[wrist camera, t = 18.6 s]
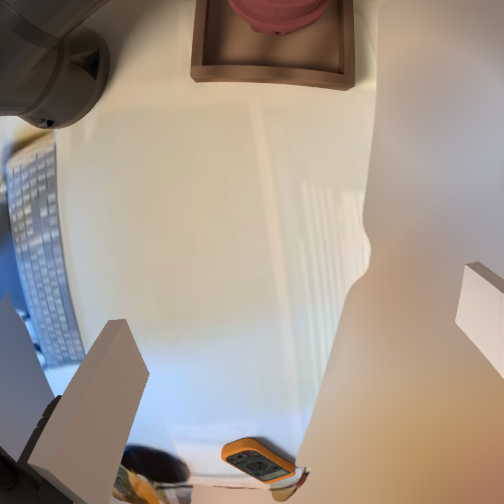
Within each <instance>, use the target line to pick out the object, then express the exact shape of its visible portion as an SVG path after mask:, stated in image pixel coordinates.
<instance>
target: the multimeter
mask: <svg viewBox="0 0 504 504" xmlns="http://www.w3.org/2000/svg"><path fill="white" fill-rule="evenodd" d="M221 458H222V460H223V461H225V462H227V463H228V464H230V465H232V466H234V467H236V468H237V469H239V470H241V471H243V472H245V473H247V474H248V475H250V476H252V477H254V478H256V479H257V480H259V481H261V482H263V483H265V484H270V483H273V482H276V481H280V480H283V479H286V478H289V477H291V476H294V475H295V467H294V465H292V464H291V463H289V462H287V461H285V460H284V459H282V458H280V457H279V456H277V455H276V454H274V453H273V452H271V451H270V450H268V449H267V448H265V447H264V446H263V445H261V444H260V443H259V442H257V441H256V440H254V439H251V438H243V439H240V440H237V441H235V442H232V443H229V444H227V445H225V446H224V447H223V448H222V452H221Z"/></svg>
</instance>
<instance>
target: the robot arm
mask: <svg viewBox="0 0 504 504" xmlns="http://www.w3.org/2000/svg"><path fill="white" fill-rule="evenodd" d="M108 1H110V0H0V116H18V117H20V118H21V119H23V120H25V121H26V122H28V123H30V124H31V125H33V126H35V127H38V128H42V129H60V128H64V127H67V126H70V125H72V124H74V123H75V122H77V121H78V120H80V119H81V118H82V117H83V116H85V115H86V114H87V113H88V112H89V111H90V109H91V108H92V107H93V106H94V104H95V103H96V101H97V100H98V98H99V97H100V95H101V93H102V91H103V89H104V86H105V84H106V81H107V77H108V72H109V52H108V48H107V46H106V44H105V42H104V40H103V39H102V38H101V37H100V36H99V35H98V34H97V33H95V32H94V31H92V30H90V29H89V28H86V27H83V26H79V25H80V24H81V23H82V22H84V21H85V20H86V19H87V18H88V17H90V16H91V15H92V14H93V13H94V12H96V11H97V10H98V9H99V8H101V7H102V6H103V5H105V4H106V3H107V2H108ZM455 322H456V324H457V325H458V326H459V327H460V328H461V329H462V330H463V331H464V333H465V334H466V335H467V336H468V337H469V338H470V339H471V340H472V341H473V342H474V344H475V345H476V346H477V347H478V348H479V349H480V351H481V352H482V353H483V354H484V355H485V357H486V358H487V359H488V360H489V361H490V362H491V364H492V365H493V366H494V367H495V368H496V370H497V371H498V372H499V373H500V375H501V376H502V377H503V378H504V279H502V278H501V277H499V276H498V275H497V274H495V273H494V272H492V271H491V270H490V269H488V268H487V267H485V266H484V265H483V264H481V263H480V262H474V263H470V264H466V265H465V270H464V277H463V284H462V290H461V295H460V301H459V306H458V311H457V316H456V320H455ZM148 377H149V372H148V369H147V367H146V365H145V363H144V361H143V359H142V356H141V354H140V352H139V350H138V347H137V345H136V343H135V340H134V338H133V336H132V333H131V331H130V328H129V326H128V323H127V321H126V319H119V320H109V321H108V322H107V324H106V325H105V327H104V328H103V330H102V331H101V333H100V334H99V336H98V337H97V339H96V341H95V342H94V344H93V345H92V347H91V349H90V350H89V352H88V353H87V355H86V357H85V358H84V360H83V361H82V363H81V365H80V366H79V368H78V370H77V371H76V373H75V375H74V376H73V378H72V380H71V381H70V383H69V385H68V387H67V388H66V390H65V392H64V393H63V395H58V396H57V397H56V398H55V399H54V400H53V401H52V402H51V403H50V404H49V405H48V406H47V408H46V410H45V411H44V413H43V415H42V419H40V420H39V422H38V424H37V428H35V429H34V431H33V433H32V435H31V437H30V439H29V441H28V443H27V444H26V446H25V448H24V450H23V452H22V454H21V456H20V458H19V460H18V461H17V462H15V461H14V460H13V459H12V458H11V457H10V456H9V455H8V454H7V452H6V451H5V450H4V449H3V448H2V447H1V446H0V504H73V503H75V504H108V503H109V500H110V496H111V493H112V489H113V486H114V482H115V479H116V475H117V472H118V469H119V465H120V462H121V459H122V455H123V452H124V449H125V446H126V443H127V439H128V436H129V433H130V430H131V427H132V424H133V421H134V418H135V415H136V412H137V409H138V406H139V403H140V400H141V397H142V394H143V391H144V388H145V385H146V383H147V380H148Z"/></svg>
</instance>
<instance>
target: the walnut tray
mask: <svg viewBox="0 0 504 504" xmlns="http://www.w3.org/2000/svg"><path fill="white" fill-rule="evenodd" d="M190 76H191V77H192V79H193V80H194V81H195V82H256V83H275V84H289V85H300V86H310V87H319V88H327V89H334V90H341V91H346V90H348V89H350V88H352V87H354V86H355V48H354V18H353V0H330V1H329V5H328V7H327V9H326V10H325V12H324V13H323V15H322V16H321V17H320V19H319V20H318V21H316V22H315V23H314V24H312V25H310V26H308V27H306V28H303V29H301V30H297V31H294V32H292V33H290V34H287V35H283V36H270V35H265V34H262V33H260V32H258V33H257V32H254V31H252V29H251V26H250V25H249V24H248V23H247V22H245V21H244V20H243V19H241V18H240V17H239V16H238V15H237V14H236V13H235V12H234V11H233V9H232V8H231V6H230V4H229V1H228V0H197V1H196V10H195V20H194V31H193V43H192V57H191V72H190Z"/></svg>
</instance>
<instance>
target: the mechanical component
mask: <svg viewBox="0 0 504 504" xmlns="http://www.w3.org/2000/svg"><path fill="white" fill-rule="evenodd" d="M228 1H229V4H230V6H231V8H232V9H233V11H234V12H235V13H236V14H237V15H238V16H239V17H240V18H241V19H243V20H244V21H245V22H247V23H248V24H249V25H250V26H251V29H252V31H254V32H257V33H258V32H260V33H262V34H265V35H270V36H283V35H287V34H290V33H292V32H294V31H297V30H301V29H303V28H306V27H308V26H310V25H312V24H314V23H315V22H316V21H318V20H319V19H320V17H321V16H322V15H323V13H324V12H325V10H326V9H327V7H328V5H329V1H330V0H228Z"/></svg>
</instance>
